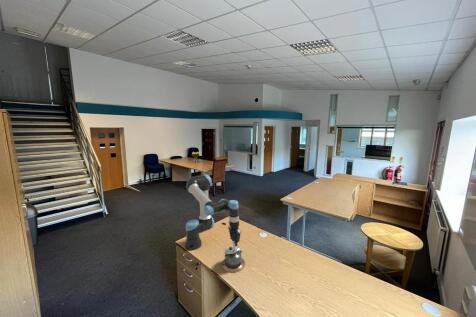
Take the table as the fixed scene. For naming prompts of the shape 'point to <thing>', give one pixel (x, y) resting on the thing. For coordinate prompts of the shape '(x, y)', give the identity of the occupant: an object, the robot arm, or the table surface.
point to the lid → (232, 250)
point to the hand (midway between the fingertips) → (235, 249)
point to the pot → (233, 262)
